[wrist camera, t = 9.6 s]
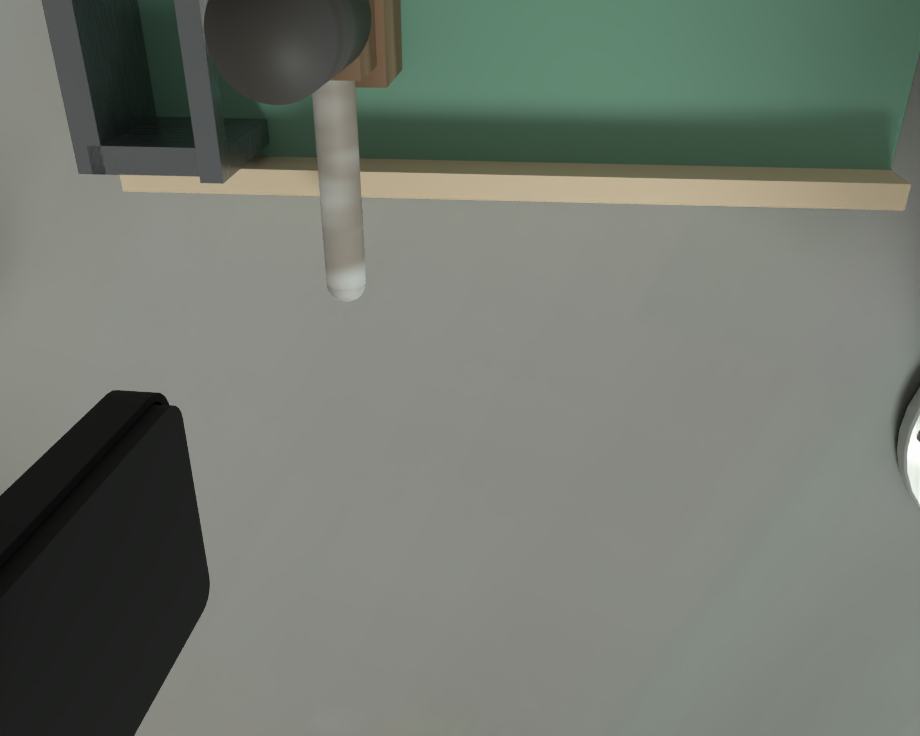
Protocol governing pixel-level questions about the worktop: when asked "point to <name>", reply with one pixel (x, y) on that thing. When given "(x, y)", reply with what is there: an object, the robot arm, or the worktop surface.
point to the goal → (142, 96)
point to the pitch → (601, 105)
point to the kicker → (315, 93)
